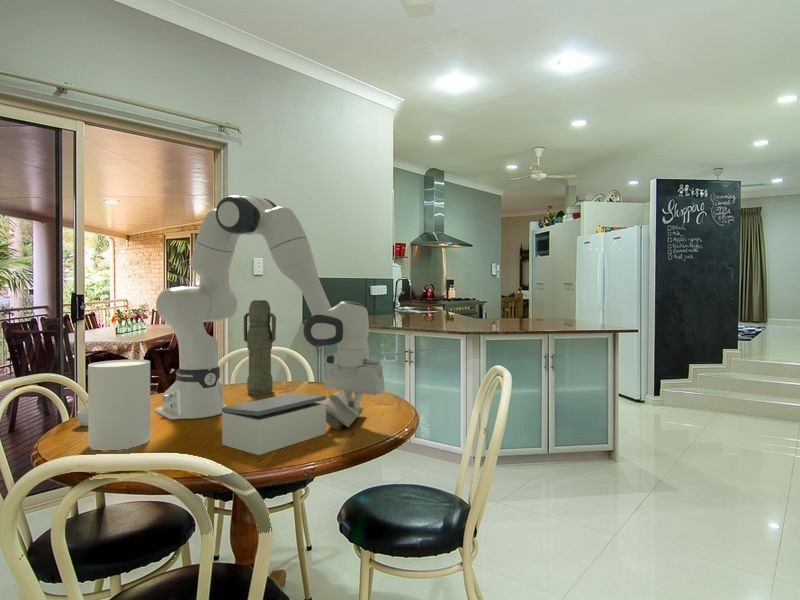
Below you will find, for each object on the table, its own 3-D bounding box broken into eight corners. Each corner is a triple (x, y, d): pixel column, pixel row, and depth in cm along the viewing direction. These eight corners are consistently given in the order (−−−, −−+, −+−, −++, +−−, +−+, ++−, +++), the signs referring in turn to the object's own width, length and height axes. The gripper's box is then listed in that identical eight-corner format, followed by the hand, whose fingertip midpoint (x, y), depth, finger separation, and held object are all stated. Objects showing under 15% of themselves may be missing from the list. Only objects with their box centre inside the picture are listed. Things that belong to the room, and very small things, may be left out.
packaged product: (356, 421, 152) (329, 402, 153) (365, 408, 151) (338, 389, 153) (341, 437, 134) (311, 416, 135) (351, 422, 134) (320, 401, 135)
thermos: (272, 398, 179) (272, 300, 178) (240, 398, 179) (239, 300, 179) (279, 393, 188) (279, 300, 187) (248, 393, 188) (247, 300, 188)
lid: (222, 411, 124) (221, 407, 124) (290, 397, 142) (289, 393, 142) (258, 415, 115) (258, 411, 116) (325, 399, 133) (325, 395, 133)
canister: (137, 432, 135) (136, 358, 135) (160, 441, 126) (159, 362, 126) (80, 443, 125) (79, 363, 124) (100, 455, 116) (100, 368, 116)
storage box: (222, 444, 124) (222, 412, 124) (290, 425, 142) (290, 397, 142) (258, 455, 116) (258, 420, 115) (326, 433, 133) (325, 403, 133)
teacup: (81, 433, 134) (81, 416, 134) (65, 428, 140) (65, 411, 140) (120, 425, 143) (120, 409, 143) (103, 420, 148) (103, 404, 148)
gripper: (389, 359, 139) (389, 409, 139) (335, 354, 151) (335, 400, 151) (374, 362, 133) (374, 414, 134) (320, 356, 145) (320, 404, 146)
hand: (353, 407), depth 142 cm, fingers closed
